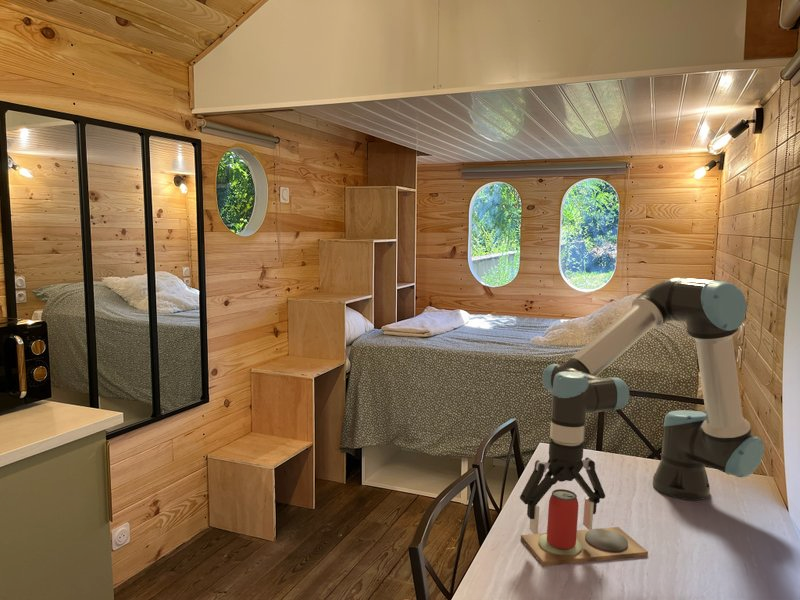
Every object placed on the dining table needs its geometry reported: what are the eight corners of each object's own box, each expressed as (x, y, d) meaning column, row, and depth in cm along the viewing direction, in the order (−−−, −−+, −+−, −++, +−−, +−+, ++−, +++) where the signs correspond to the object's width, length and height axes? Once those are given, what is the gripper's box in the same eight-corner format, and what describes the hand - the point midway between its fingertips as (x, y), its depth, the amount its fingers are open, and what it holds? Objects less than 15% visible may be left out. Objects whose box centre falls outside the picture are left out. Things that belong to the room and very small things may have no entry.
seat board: (618, 530, 152) (618, 524, 152) (647, 555, 140) (648, 549, 140) (520, 539, 146) (521, 532, 146) (543, 566, 135) (543, 559, 134)
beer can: (576, 552, 138) (580, 501, 136) (546, 548, 139) (550, 498, 138) (574, 538, 144) (578, 489, 143) (546, 534, 145) (549, 486, 144)
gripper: (606, 432, 146) (600, 517, 148) (508, 437, 140) (504, 525, 142) (625, 443, 138) (618, 532, 141) (522, 448, 133) (517, 541, 135)
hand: (560, 529), depth 141 cm, fingers open, 13 cm apart
